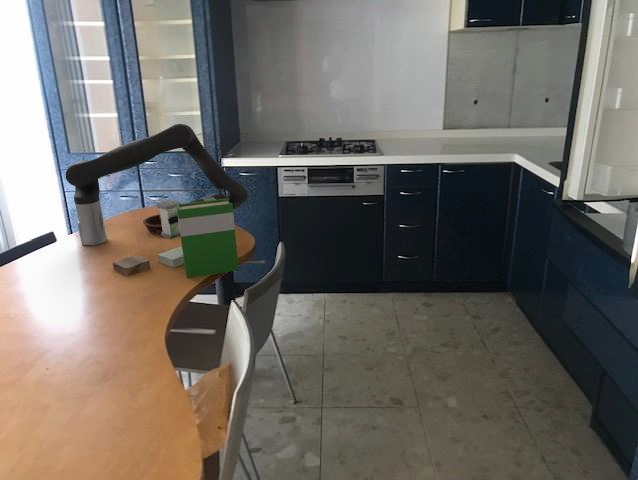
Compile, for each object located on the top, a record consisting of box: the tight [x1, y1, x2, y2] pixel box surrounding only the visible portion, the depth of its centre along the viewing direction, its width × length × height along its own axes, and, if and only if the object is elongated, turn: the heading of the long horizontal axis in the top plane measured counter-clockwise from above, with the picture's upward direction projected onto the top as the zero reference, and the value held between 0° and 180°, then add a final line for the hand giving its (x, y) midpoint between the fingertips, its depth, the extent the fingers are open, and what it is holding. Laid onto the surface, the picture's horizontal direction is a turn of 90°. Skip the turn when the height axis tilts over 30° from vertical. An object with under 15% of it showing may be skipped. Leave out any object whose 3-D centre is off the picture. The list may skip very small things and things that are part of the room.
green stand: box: [157, 246, 184, 268], centre depth 185 cm, size 9×9×3 cm
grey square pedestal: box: [155, 199, 182, 240], centre depth 181 cm, size 6×6×12 cm
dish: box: [142, 213, 163, 236], centre depth 220 cm, size 18×22×5 cm
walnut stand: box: [112, 254, 151, 278], centre depth 180 cm, size 9×9×3 cm
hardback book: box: [176, 198, 240, 279], centre depth 173 cm, size 18×7×24 cm, turn 108°
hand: (164, 220), depth 178 cm, fingers closed on grey square pedestal, 5 cm apart
